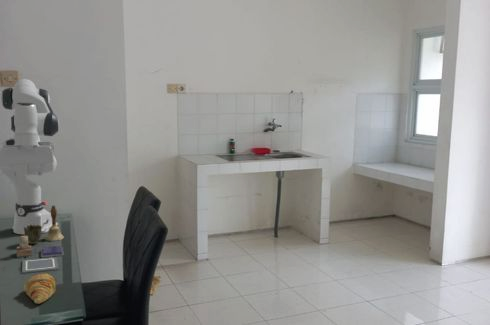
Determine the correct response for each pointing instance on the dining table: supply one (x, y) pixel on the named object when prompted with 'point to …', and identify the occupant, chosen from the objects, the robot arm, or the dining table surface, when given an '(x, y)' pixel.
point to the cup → (33, 233)
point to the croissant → (40, 287)
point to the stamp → (23, 247)
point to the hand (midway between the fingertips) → (27, 175)
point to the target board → (39, 265)
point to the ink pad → (52, 251)
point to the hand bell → (54, 228)
